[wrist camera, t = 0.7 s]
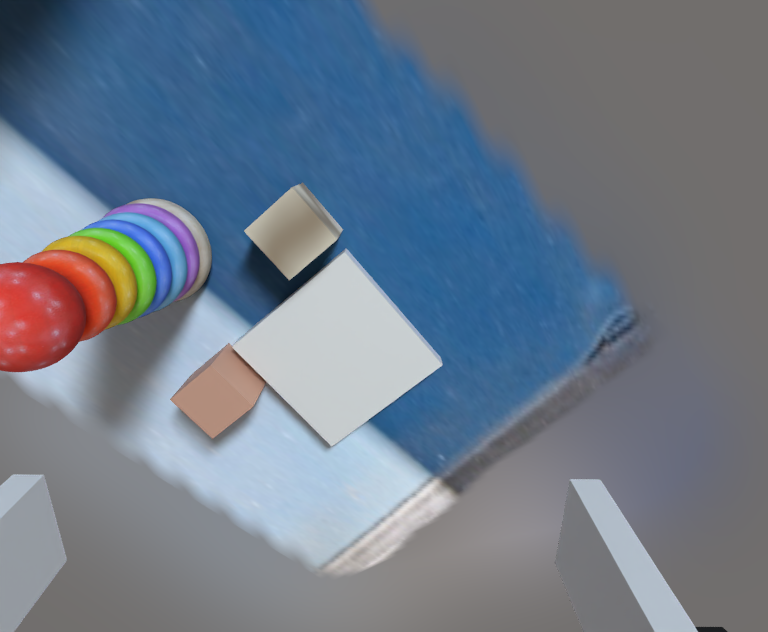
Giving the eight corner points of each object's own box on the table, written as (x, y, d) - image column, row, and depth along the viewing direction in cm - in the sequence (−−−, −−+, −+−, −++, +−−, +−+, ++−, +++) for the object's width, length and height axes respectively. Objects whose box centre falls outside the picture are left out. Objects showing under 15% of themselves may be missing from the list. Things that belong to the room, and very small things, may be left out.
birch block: (260, 221, 37) (243, 230, 33) (303, 182, 36) (292, 187, 32) (300, 265, 38) (289, 280, 34) (342, 229, 38) (337, 239, 33)
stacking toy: (156, 315, 40) (-29, 448, 22) (91, 231, 38) (-174, 303, 20) (235, 267, 38) (105, 368, 21) (172, 177, 36) (-34, 202, 19)
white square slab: (237, 340, 40) (231, 346, 39) (346, 248, 38) (344, 252, 36) (333, 436, 43) (331, 446, 42) (440, 357, 41) (442, 365, 39)
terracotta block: (192, 373, 42) (169, 399, 37) (229, 342, 41) (210, 365, 36) (230, 409, 43) (212, 438, 38) (266, 380, 42) (253, 406, 37)
